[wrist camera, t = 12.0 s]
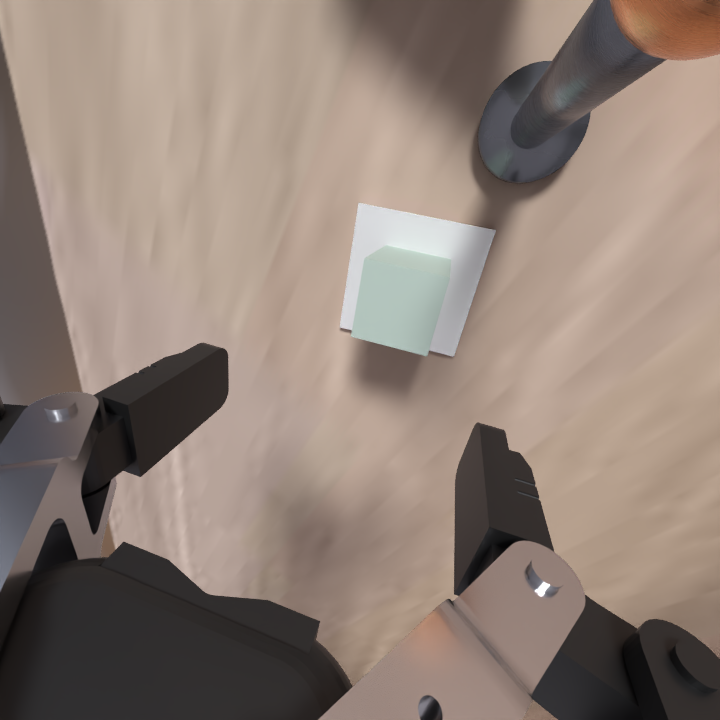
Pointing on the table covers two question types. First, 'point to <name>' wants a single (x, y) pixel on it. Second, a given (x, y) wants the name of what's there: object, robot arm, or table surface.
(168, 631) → the robot arm
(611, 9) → the metal post
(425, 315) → the green block
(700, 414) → the table surface
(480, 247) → the pad
